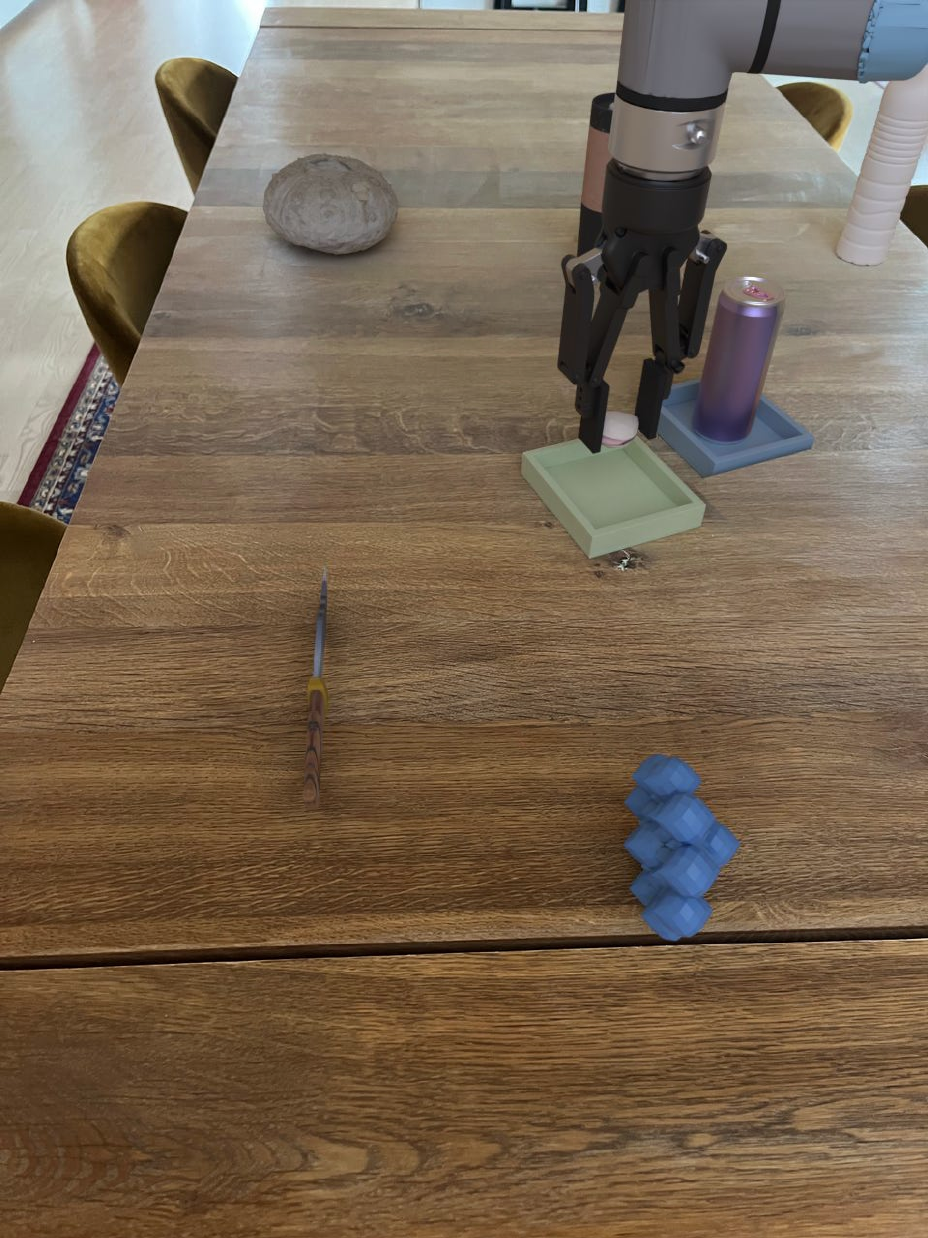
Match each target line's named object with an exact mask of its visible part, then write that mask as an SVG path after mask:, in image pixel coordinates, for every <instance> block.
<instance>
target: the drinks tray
mask: <svg viewBox="0 0 928 1238" xmlns="http://www.w3.org/2000/svg"><path fill="white" fill-rule="evenodd" d="M700 381H701V377H698V378H694V379H689V380H687V381H682V382H677V383H674V384H673V383H672V387H671V392H670V395H669V397H668V399H665V400H663V403H662V408H661V413H660V418H659V424H658V429H657V435H659V436H660V438H662V439H663V440H664V441H665V442H666V443H667V444H668V445H669V446H670V447H671V448H672V449H673V450H674V451H675V452H676V453H677V454H678V455H679V456H680V457H681V458H682V459H683V460H685V462H686V463H687V464H688V465H689V466H690V467H691V468H692V469H693V470H694V471H696V472H697V474H698V475H700V476H701V478H703V479H706V478H709V477H714V476H717V475H720V474H726V473H729V472H732V471H736V470H739V469H742V468H747V467H750V466H753V465H757V464H762V463H765V462H769V461H772V460H776V459H780V458H783V457H786V456H790V455H794V454H798V453H801V452H805V451H808V450H812V446H813V444H814V440H815V436H814V435H813V434H812V433H811V432H809V430H807V429H806V428H805V427H804V426H802V425H801V424H800V423H799V422H798V421H796V420H795V419H794V418H793V417H791V416H790V415H789V414H788V413H786V412H785V411H784V410H782V408H780V407H779V406H778V405H777V404H775V403H774V402H773V401H772V400H771V399H770V398H768V397H767V396H766V395H764V394H763V393H762V394H761V397H760V401H759V405H758V409H757V412H756V416H755V420H754V423H753V427H752V431H751V433H750V434H749V435H748V436H747V437H746V438H745V439H744V440H742V441H741V442H738V443H735V444H730V445H722V444H716V443H712V442H709V441H707V440H705V439H703V438H701V437H700V436H699V435H698V434H697V433H696V431H695V429H694V427H693V424H692V418H693V414H694V409H695V404H696V400H697V395H698V391H699V386H700Z"/></svg>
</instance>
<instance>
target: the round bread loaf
mask: <svg viewBox="0 0 928 1238" xmlns="http://www.w3.org/2000/svg"><path fill="white" fill-rule="evenodd" d="M263 193H264V194H263V204H262V211H263V213H264V218H265V222H266V224H267V225H268V226H269V227H270V228H271V230H272V231H273V232H274V233H275V234H276V235H277V236H279V237H281V238H282V239H284V241H287V242H288V243H291V244H293V245H295V246H299V247H300V246H301V247H306V248H308V249H311V250H314V251H319V252H324V253H326V254H334V255H336V256H337V255H348V254H351V253H358V252H359V251H366V250H367V249H371V247H373V246H375V245H376V244H377V243H379V242H380V241H382V240H384V239H385V237H387V236H388V234H389V233H390V231H391V229H392V228H393V227H394V225H395V224H396V221H397V218H398V215H399V201H398V197H397V195H396V193H395V191H394V189H393V187H392V184H391V183H389V181H388V180H387V179H385V177H384V176H383V172H382V171H380V170H379V171H378V170H377V169H375V168H373V167H371V166H370V165H368V163H365V162H364V161H362V160H360V159H357V158H353V157H350V156H349V155H348V156H342V155H338V154H337V155H336V154H335V155H334V154H328V153H326V152H323V153H322V154H321V153H314V154H310V155H305V156H304V157H297V159H296V160H293V161H292V162H289V163H288V164H287V165H285V166H283V167H282V168H281V169H280V170H279V171H278V172H277V173H276V172H275V173H272V174H271V179H270V181H269V182H268V184H267V186H266V187H265V190H264V192H263Z"/></svg>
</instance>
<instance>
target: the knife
mask: <svg viewBox="0 0 928 1238" xmlns="http://www.w3.org/2000/svg"><path fill="white" fill-rule="evenodd" d="M326 570H327V568H326V567H324V570H323V575H322V579H321V584H320V596H319V605H318V613H317V617H316V623H315V624H316V625H315V641H314V657H313V673H312V677H308V681H307V688H306V689H307V690H306V700H307V701H306V702H307V704H308V705H307V706H308V717H307V729H306V742H305V757H304V758H305V760H304V777H303V790H302V801H303V802H302V803H303V804H304V805H305V806H306V808H307V809H308V810H310V811H316V810H318V809H319V807H320V794H321V775H322V774H321V773H322V772H321V771H322V758H323V757H322V756H323V739H324V738H323V737H324V723H325V722H326V717H327V713H328V705H329V694H328V689H327V685H326V682H325V679H324V677H323V671H324V656H325V648H326V647H325V646H326V635H327V621H328V619H327V618H328V579H327V571H326Z"/></svg>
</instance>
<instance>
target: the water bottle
mask: <svg viewBox="0 0 928 1238" xmlns="http://www.w3.org/2000/svg"><path fill="white" fill-rule="evenodd" d="M880 98H881V99H880V103H879V107H878V110H877V113H876V118H875V120H874V124H873V127H872V131H871V134H870V139H869V140H868V144H867V147H866V151H865V153H864V155H863V156H864V157H863V159H862V163H861V166H860V172H859V174H858V176H857V180H856V182H855V189H854V191H853V193H852V197H851V198H852V200H851V201H850V203H849V206H848V210H847V213H846V218H845V221H844V222H843V226H842V233H841V234H840V236H839V239H838V243H837V247H836V250H835V251H836V255H837V256H838V257H839V258H840V259H841V260H842V261H844V262H847V263H850V264H851V263H852V264H854V265H856V266H862V267H863V266H864V267H865V266H866V265H867V266H869V267H873V266H878V265H880V264H883V263H884V262H885V261H886V260H887V257H888V254H889V251H890V248H891V245H892V240H893V238H894V236H895V233H896V229H897V225H898V224H899V221H900V219H901V212H902V211H903V209H904V206H905V203H906V197H907V196H908V194H909V191H910V189H911V186H912V180H913V179H914V177H915V173H916V171H917V167H918V164H919V160H920V159H921V154H922V151H923V149H924V146H925V143H926V139H927V137H928V63H927V65H926V66H925V67H924V68H923V70H922V71H921V72H920V73H919V74H917V75H916V76H915V77H913V78H911V79H908V80H905V81H888V83H887V84H886V86H885V88H884V90H883V93H882V95H881V97H880Z"/></svg>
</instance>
